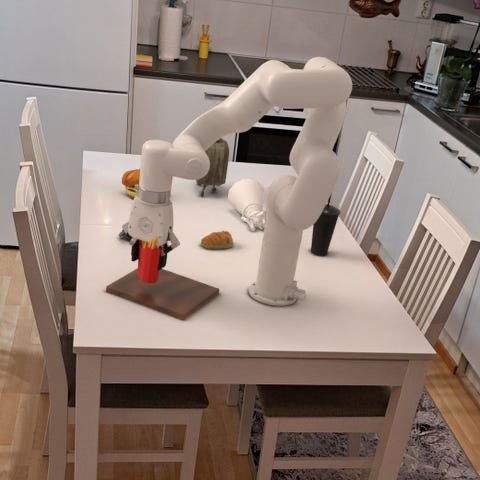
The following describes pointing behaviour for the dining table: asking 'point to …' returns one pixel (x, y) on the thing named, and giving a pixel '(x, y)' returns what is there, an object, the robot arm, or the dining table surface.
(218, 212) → the dining table surface
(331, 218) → the drinking cup
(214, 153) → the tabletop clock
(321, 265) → the dining table surface
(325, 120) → the robot arm
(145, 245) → the french fries
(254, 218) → the rocket engine
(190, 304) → the cutting board
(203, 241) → the pastry
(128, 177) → the cheeseburger
